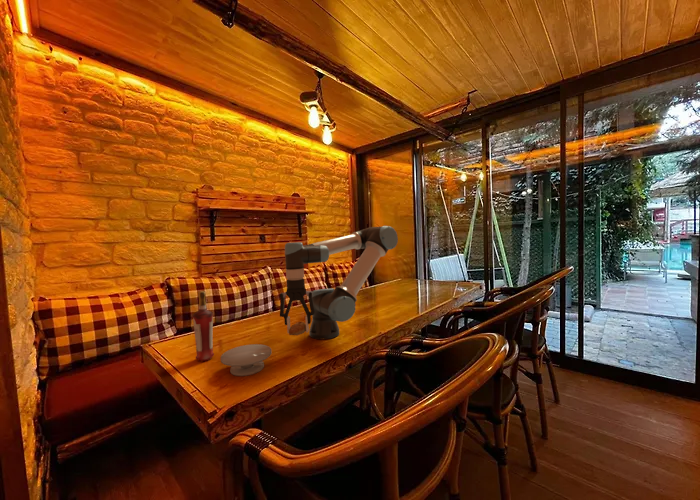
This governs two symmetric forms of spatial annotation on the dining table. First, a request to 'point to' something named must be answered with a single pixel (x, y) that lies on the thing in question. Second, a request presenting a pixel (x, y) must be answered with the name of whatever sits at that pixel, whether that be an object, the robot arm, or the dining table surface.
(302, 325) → the pastry
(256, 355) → the cake stand
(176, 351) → the dining table surface
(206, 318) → the ketchup bottle
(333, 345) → the dining table surface
